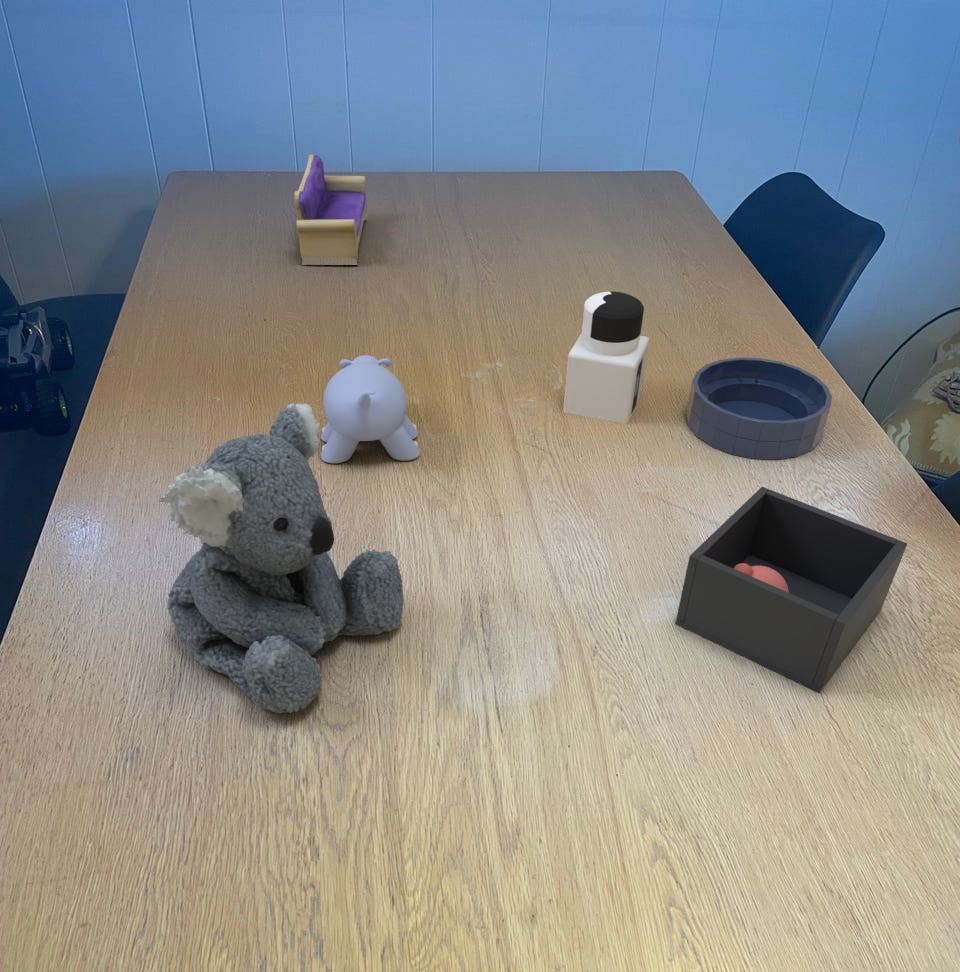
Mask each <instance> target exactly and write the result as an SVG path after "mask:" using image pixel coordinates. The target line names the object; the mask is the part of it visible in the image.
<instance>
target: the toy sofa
mask: <svg viewBox="0 0 960 972" xmlns="http://www.w3.org/2000/svg"><path fill="white" fill-rule="evenodd" d="M307 159H308V160H307V166H306V168H305V171H304V174H303V177H302V180H301V182H300V184H299V187H298V190H295V191H294V194H293V195H294V205H295V211H296V230H297V235H298V243H299V250H300V258H301V257H325V258H338V259H339V258H340V259H355V260H357V259H358V260H359V254H358V251H359V246H360V241H361V236H362V232H363V226H364V222H365V220H364V218H365V214H366V213H367V214H368V212H367V211H368V206H367V180H366V179H367V178H366V176H365V175H325V168H324V162H323V160H322V158H321V156H319V155H318V154H309V155H308V158H307Z"/></svg>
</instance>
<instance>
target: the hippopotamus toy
mask: <svg viewBox="0 0 960 972" xmlns="http://www.w3.org/2000/svg"><path fill="white" fill-rule="evenodd" d="M382 365H384V366H385V367H387V368H391V366H392V361H391V359H390V358H388V357H385V358H382V359H377V358H376V357H375V356H373V355H368V354H363V355H362V354H361V355H359V356H356V357H355V358H354V359H353V360H350V359H341V360H340V362H339V368H341V369H340V370H338V371H337V372H336V373H335V374H334V375H333V376H332V377H331V378H330V380H329V381H328V383H327V385H326V386H325V389H324V394H323V400H322V401H323V402H322V403H323V410H324V414H325V417H326V420H327V423H326V425H325V426H323V427H322V428H321V435H320V440H322V442H325V443H326V444H323V445H322V446H321V447H322V448H321V453H320V459H321V460H322V461H323V462H326V463H328V464H342V463H345V462H347V461H348V460H350V459H351V458H352V456H353V454H354V452H355V450H356V449H357V447H358V445H359V443H360V442H371V441H373V442H374V441H379V442H380V443H381V444H382V446H383V448H384V449H385V451H386V452H387V453H388V455H389V456H390V457H391V458H392V459H394V460H396V461H402V462H403V461H405V462H407V461H413V460H416V459H417V458H419V456H420V453H421V451H420V449H419V446H418V442H417V441H415V440H414V439H416V438H417V437H418V435H419V432H418V430H417V429H418V428H417V425H416V424H415V423H412V421H411V419H410V418H409V416H408V415H407V409H408V399H407V394H406V391H405V388H404V386H403V384H402V382H401V381H400V379H399V377H397V376H396V375H395V374H394V373H393V372H392V371H390V370H389V369H387V368H385V367H384V366H382Z"/></svg>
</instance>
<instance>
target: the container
mask: <svg viewBox="0 0 960 972" xmlns="http://www.w3.org/2000/svg"><path fill="white" fill-rule="evenodd" d="M644 312H645V306H644V304H643V303H642V302H641V300H640V299H638V297H635V296H633V295H631V294H629V293H625V292H621V291H602V292H599V293H595V294H592V295H590V297H588V298H587V299H586V300H585V301H584V308H583V316H582V325H581V333H580V335H579V337H578V338H577V340H576V342H575V343H574V345H573V346H572V348H571V350H570V351H569V353H568V355H567V366H566V377H565V386H564V387H565V388H564V398H563V399H564V400H563V411H562V412H563V413H564V414H568V415H569V414H570V415H574V416H579V417H586V418H591V419H595V420H601V421H607V422H610V423H611V422H613V423H617V424H623V425H627V424H629V423H630V420H631V418H632V416H633V414H634V411H635V410H636V408H637V406H638V403H639V401H640V399H641V397H642V392H643V385H644V378H645V372H646V371H645V370H646V364H647V359H648V353H649V352H648V351H649V343H650V338H649V336H645V335H641V333H642V326H643V319H644Z"/></svg>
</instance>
